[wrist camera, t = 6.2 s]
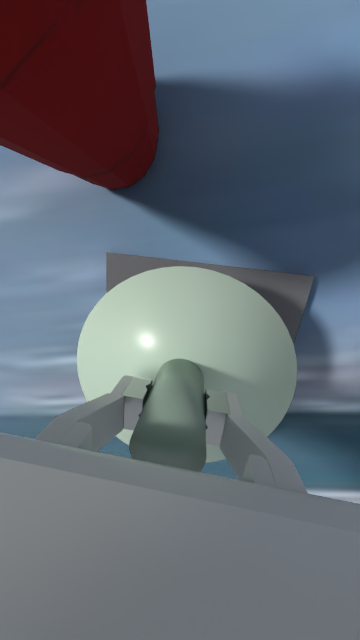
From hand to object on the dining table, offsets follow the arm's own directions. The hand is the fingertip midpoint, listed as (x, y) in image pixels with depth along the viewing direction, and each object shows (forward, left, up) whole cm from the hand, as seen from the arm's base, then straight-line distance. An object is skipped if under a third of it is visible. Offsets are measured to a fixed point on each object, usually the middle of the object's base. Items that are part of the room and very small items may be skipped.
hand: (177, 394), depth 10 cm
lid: (0, 0, -2) cm, 2 cm away
